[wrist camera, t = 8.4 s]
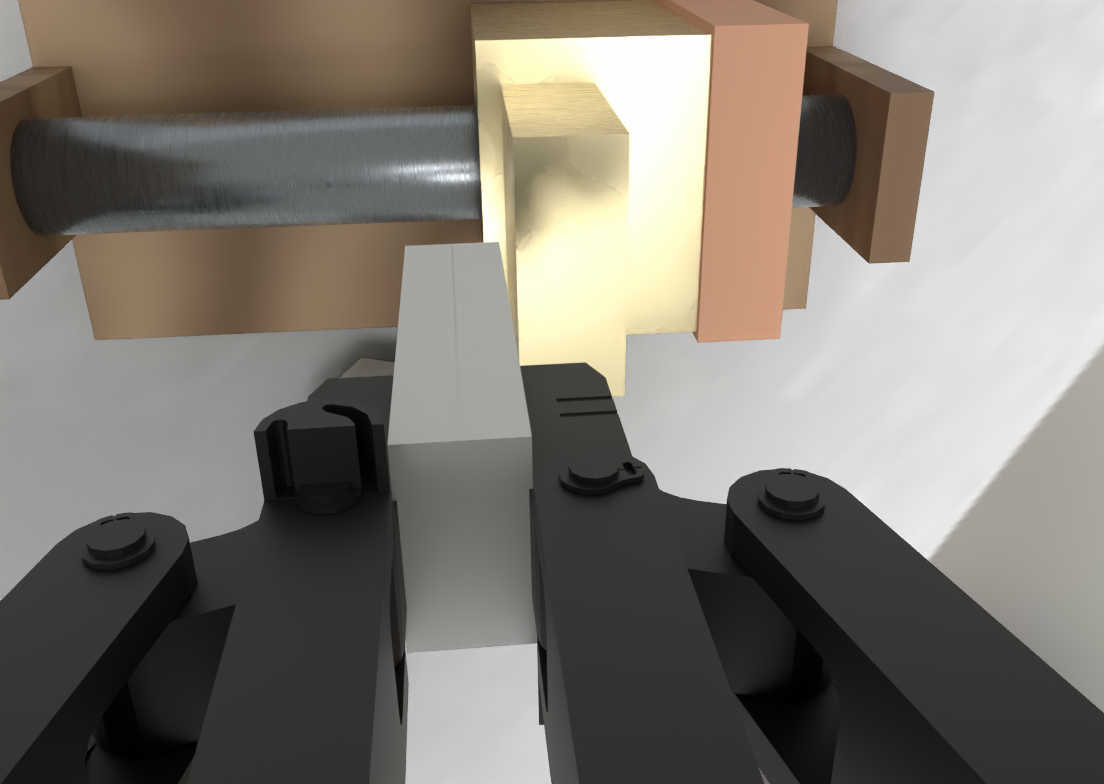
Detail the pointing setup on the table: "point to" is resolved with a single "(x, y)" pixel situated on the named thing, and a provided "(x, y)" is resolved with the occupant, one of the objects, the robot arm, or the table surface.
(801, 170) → the pipe
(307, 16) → the base board
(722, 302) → the square pink collar
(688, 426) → the table surface
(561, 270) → the sleeve
